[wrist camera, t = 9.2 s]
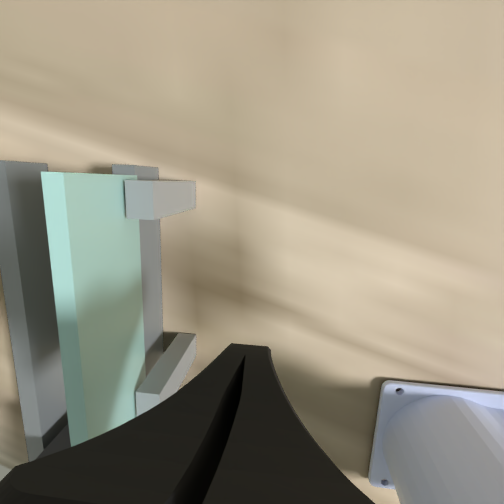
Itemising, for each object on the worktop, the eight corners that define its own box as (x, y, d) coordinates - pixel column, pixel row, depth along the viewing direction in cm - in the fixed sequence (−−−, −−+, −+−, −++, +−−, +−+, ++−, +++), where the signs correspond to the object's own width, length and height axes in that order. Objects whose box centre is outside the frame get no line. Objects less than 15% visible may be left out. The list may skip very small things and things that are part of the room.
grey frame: (195, 169, 19) (151, 163, 13) (196, 498, 24) (166, 602, 18) (29, 163, 20) (-83, 155, 14) (66, 479, 25) (-3, 571, 19)
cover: (126, 175, 16) (137, 175, 16) (137, 385, 18) (146, 385, 18) (40, 171, 8) (62, 172, 8) (82, 550, 10) (98, 548, 10)
